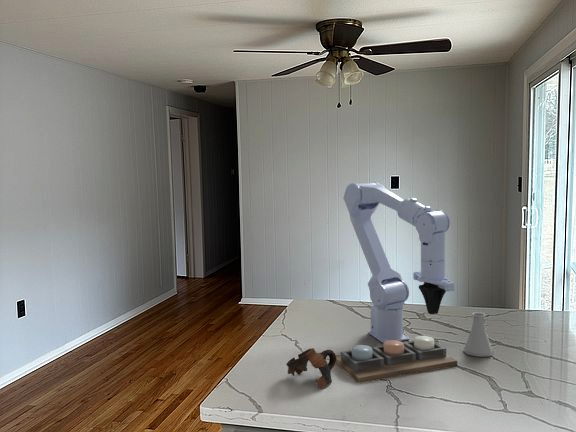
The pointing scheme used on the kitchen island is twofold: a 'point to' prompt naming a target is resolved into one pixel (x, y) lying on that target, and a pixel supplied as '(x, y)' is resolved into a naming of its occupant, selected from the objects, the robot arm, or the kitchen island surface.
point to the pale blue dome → (361, 352)
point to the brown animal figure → (314, 365)
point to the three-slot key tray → (394, 362)
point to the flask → (478, 338)
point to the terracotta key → (393, 347)
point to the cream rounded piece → (424, 343)
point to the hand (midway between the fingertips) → (433, 313)
